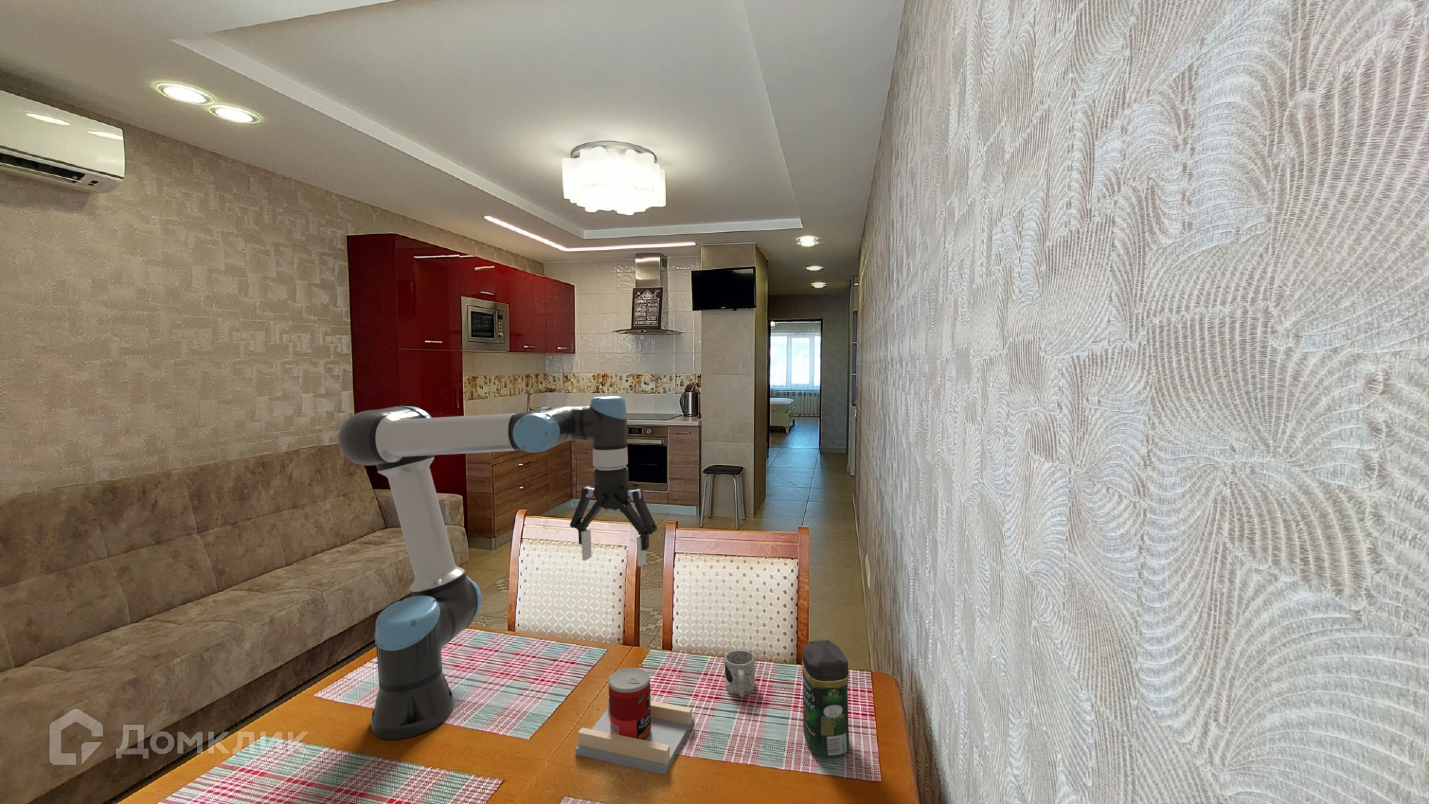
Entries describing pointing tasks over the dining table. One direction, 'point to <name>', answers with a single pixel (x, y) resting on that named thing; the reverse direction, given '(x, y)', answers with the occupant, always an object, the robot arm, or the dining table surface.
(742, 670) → the mug
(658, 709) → the track
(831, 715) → the coffee jar
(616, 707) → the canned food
